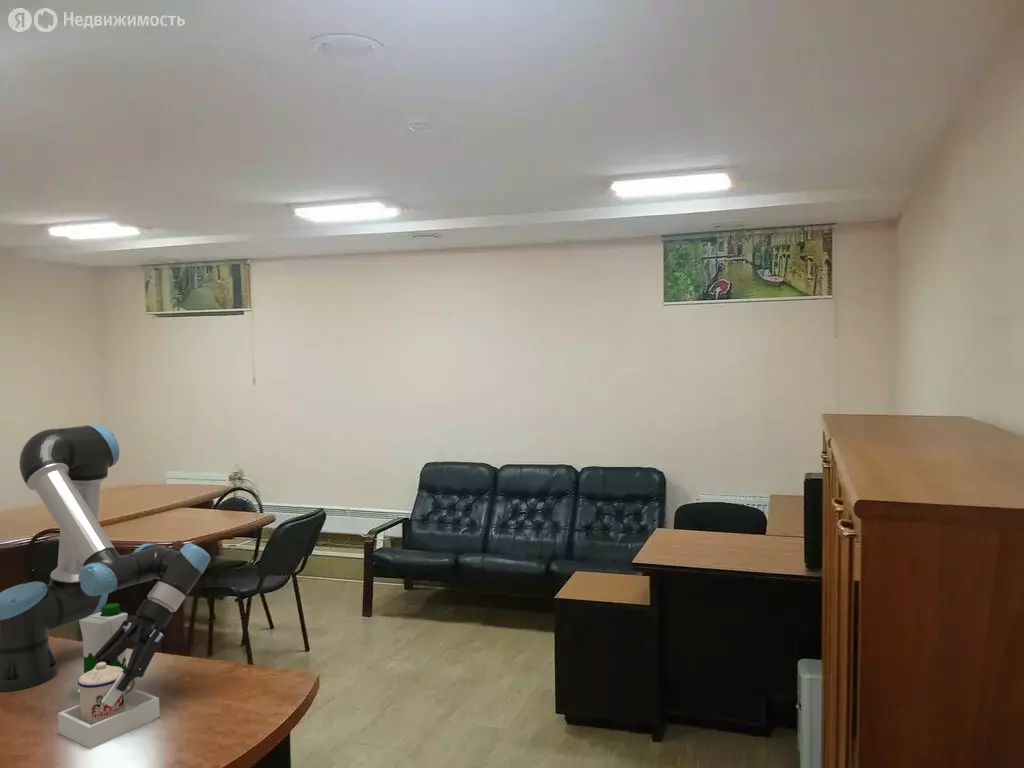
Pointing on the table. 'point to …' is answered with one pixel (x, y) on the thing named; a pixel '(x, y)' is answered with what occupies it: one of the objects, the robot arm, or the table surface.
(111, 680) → the teacup with lid
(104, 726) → the white rectangular tray
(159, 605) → the robot arm
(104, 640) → the milk carton
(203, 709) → the table surface
